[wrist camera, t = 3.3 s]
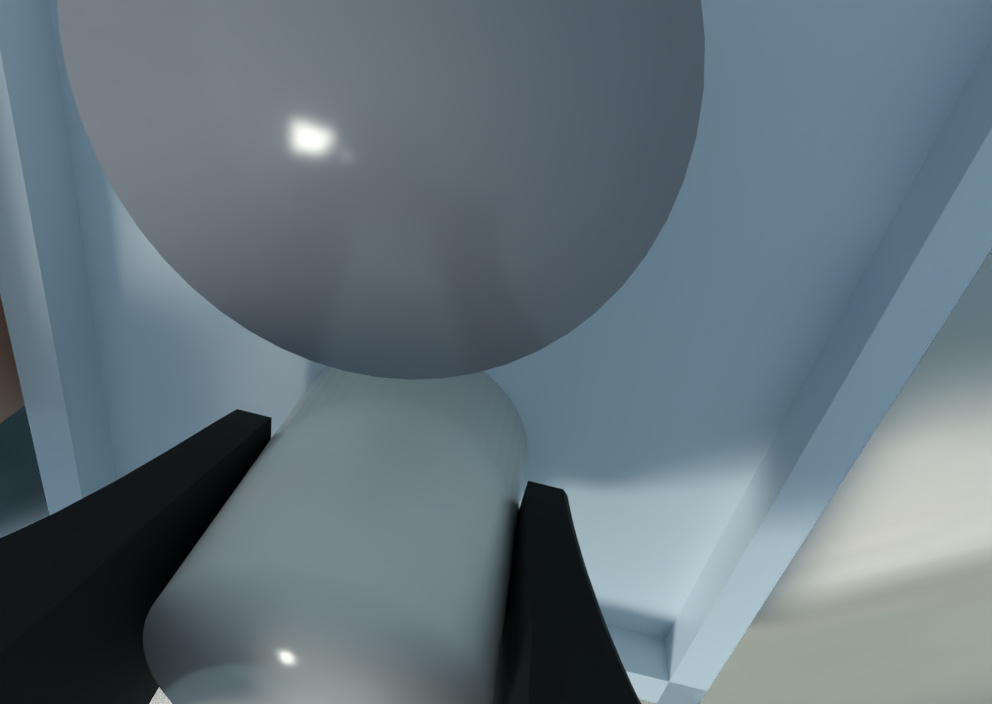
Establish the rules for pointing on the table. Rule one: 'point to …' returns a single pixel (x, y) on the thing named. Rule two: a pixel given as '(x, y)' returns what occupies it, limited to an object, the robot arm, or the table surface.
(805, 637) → the table surface
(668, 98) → the grey plastic cylinder
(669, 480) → the parts tray
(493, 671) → the pale grey cylinder
